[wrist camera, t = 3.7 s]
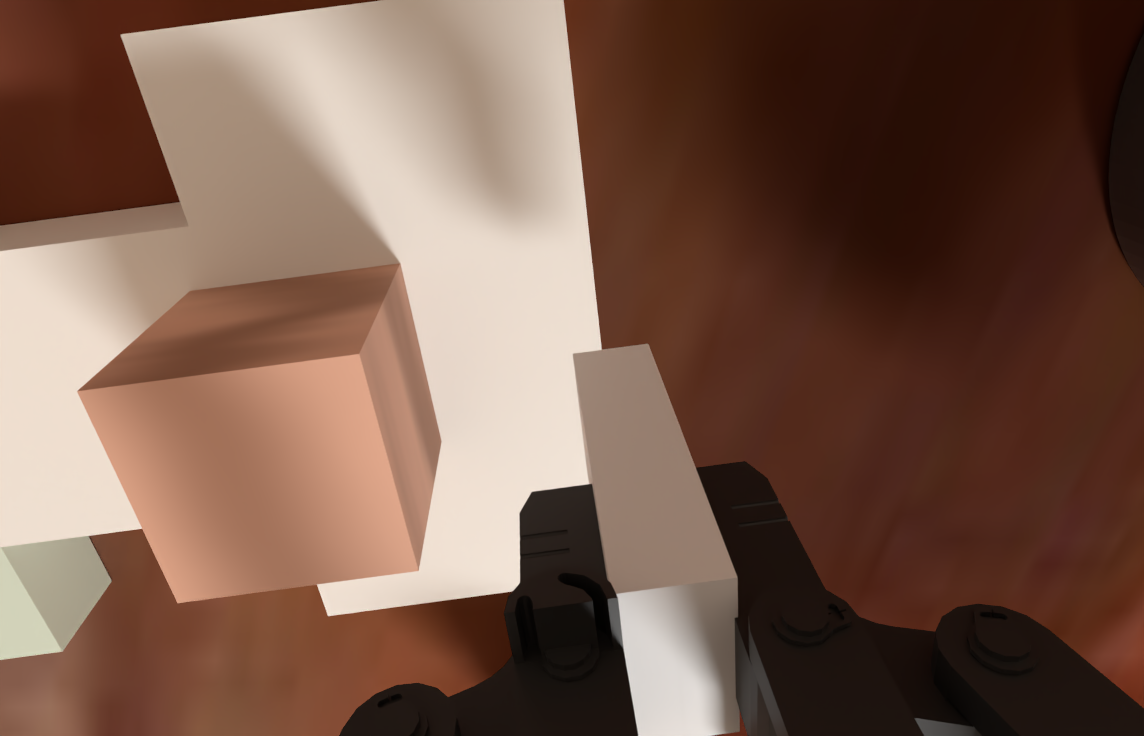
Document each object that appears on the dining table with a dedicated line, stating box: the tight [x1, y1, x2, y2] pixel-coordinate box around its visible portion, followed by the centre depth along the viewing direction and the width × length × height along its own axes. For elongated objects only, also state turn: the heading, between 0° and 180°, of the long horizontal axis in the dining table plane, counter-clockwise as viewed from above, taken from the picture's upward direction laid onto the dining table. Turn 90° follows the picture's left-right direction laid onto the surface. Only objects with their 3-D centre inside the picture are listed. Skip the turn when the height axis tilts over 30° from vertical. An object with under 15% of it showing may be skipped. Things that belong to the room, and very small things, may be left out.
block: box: [77, 263, 442, 603], centre depth 16 cm, size 5×5×5 cm
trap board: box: [0, 0, 602, 660], centre depth 19 cm, size 24×16×6 cm, turn 97°
